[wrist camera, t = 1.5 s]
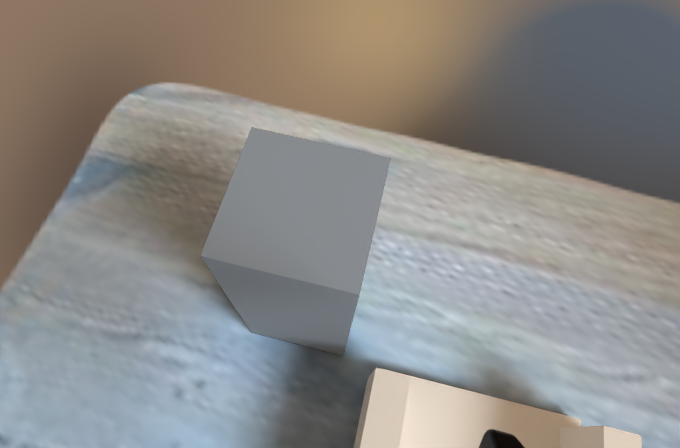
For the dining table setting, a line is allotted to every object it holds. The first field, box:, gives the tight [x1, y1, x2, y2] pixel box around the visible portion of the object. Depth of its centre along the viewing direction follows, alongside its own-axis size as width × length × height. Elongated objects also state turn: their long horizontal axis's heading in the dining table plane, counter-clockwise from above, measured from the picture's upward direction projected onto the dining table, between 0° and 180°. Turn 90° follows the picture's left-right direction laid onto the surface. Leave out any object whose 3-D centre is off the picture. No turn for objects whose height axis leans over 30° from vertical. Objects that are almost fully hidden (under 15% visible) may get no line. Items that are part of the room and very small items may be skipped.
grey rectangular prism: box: [200, 127, 391, 356], centre depth 16 cm, size 4×4×9 cm
